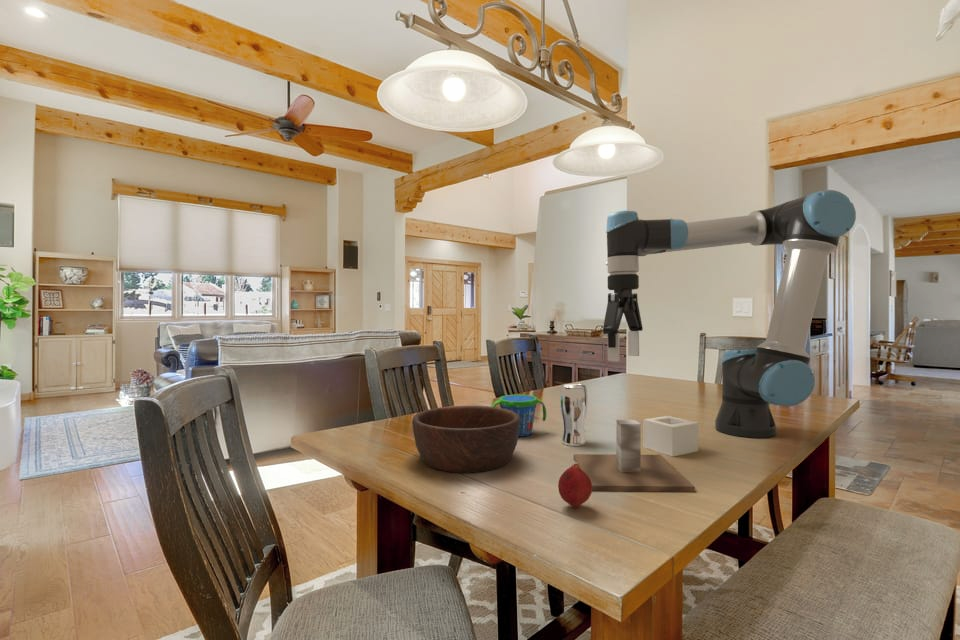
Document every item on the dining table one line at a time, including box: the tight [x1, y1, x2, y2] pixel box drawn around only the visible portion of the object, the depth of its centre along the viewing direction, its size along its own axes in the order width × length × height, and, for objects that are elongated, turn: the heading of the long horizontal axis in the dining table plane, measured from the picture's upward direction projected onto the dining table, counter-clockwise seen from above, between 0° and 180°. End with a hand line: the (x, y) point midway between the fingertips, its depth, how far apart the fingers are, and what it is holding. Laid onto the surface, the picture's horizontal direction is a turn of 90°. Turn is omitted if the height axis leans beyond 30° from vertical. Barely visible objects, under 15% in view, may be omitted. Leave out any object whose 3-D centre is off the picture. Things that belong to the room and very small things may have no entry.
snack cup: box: [491, 394, 547, 437], centre depth 136 cm, size 16×10×10 cm
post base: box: [573, 419, 696, 493], centre depth 104 cm, size 20×20×11 cm
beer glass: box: [559, 383, 588, 447], centre depth 127 cm, size 7×7×15 cm
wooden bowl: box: [411, 405, 520, 473], centre depth 114 cm, size 25×25×10 cm
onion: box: [557, 461, 593, 509], centre depth 86 cm, size 6×6×8 cm
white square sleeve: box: [642, 415, 699, 457], centre depth 121 cm, size 9×9×7 cm
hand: (624, 358), depth 123 cm, fingers open, 13 cm apart
